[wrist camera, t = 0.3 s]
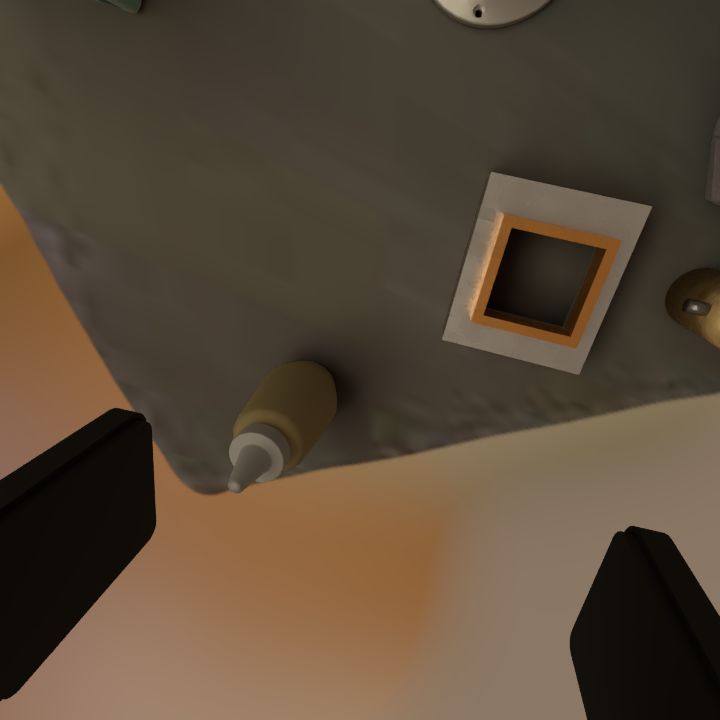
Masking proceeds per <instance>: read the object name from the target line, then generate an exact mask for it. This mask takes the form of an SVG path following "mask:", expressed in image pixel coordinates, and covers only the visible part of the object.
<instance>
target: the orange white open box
mask: <svg viewBox="0 0 720 720" xmlns="http://www.w3.org/2000/svg"><path fill="white" fill-rule="evenodd" d="M651 208H652V206H648V205H643V204H638V203H634V202H629V201H624V200H620V199H615V198H610V197H606V196H601V195H597V194H592V193H587V192H583V191H578V190H573V189H569V188H564V187H559V186H555V185H550V184H545V183H541V182H536V181H532V180H527V179H522V178H518V177H513V176H508V175H504V174H499V173H494V172H489V173H488V174H487V177H486V181H485V184H484V188H483V191H482V195H481V198H480V201H479V205H478V208H477V212H476V215H475V219H474V222H473V226H472V229H471V232H470V236H469V239H468V243H467V246H466V250H465V253H464V257H463V260H462V263H461V267H460V270H459V274H458V277H457V281H456V284H455V288H454V291H453V294H452V298H451V301H450V305H449V308H448V312H447V315H446V319H445V322H444V325H443V334H442V340H446V341H450V342H454V343H457V344H461V345H465V346H469V347H473V348H477V349H481V350H485V351H489V352H493V353H496V354H500V355H504V356H508V357H512V358H516V359H520V360H524V361H528V362H532V363H535V364H539V365H543V366H547V367H551V368H555V369H559V370H563V371H567V372H570V373H574V374H578V375H579V374H580V371H581V369H582V367H583V364H584V362H585V360H586V357H587V355H588V353H589V351H590V348H591V346H592V344H593V341H594V339H595V337H596V334H597V332H598V330H599V328H600V325H601V323H602V321H603V318H604V316H605V314H606V312H607V309H608V307H609V305H610V302H611V300H612V298H613V295H614V293H615V291H616V289H617V286H618V284H619V282H620V279H621V277H622V275H623V272H624V270H625V268H626V266H627V263H628V261H629V259H630V256H631V254H632V252H633V250H634V247H635V245H636V243H637V240H638V238H639V236H640V233H641V231H642V229H643V227H644V224H645V222H646V220H647V217H648V215H649V213H650V210H651ZM511 228H515V229H519V230H524V231H528V232H533V233H537V234H541V235H546V236H550V237H555V238H559V239H563V240H568V241H572V242H577V243H581V244H585V245H590V246H594V248H593V251H592V253H591V256H590V258H589V261H588V263H587V266H586V268H585V271H584V273H583V276H582V278H581V281H580V283H579V286H578V288H577V291H576V293H575V296H574V298H573V301H572V303H571V306H570V308H569V311H568V313H567V316H566V318H565V321H564V323H563V326H559V325H555V324H551V323H547V322H543V321H539V320H535V319H531V318H527V317H523V316H519V315H515V314H510V313H506V312H502V311H498V310H494V309H490V308H486V306H487V302H488V299H489V296H490V293H491V290H492V287H493V284H494V281H495V278H496V275H497V272H498V269H499V265H500V262H501V259H502V256H503V253H504V250H505V247H506V244H507V241H508V238H509V235H510V231H511Z"/></svg>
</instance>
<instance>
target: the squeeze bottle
mask: <svg viewBox="0 0 720 720" xmlns="http://www.w3.org/2000/svg"><path fill="white" fill-rule="evenodd" d="M336 412H337V394H336V388H335V383H334V381H333V378H332V375H331V374H330V373H329V372H328V371H327V369H326V368H325V367H324V366H322V365H320V364H318V363H316V362H314V361H305V360H302V361H295V362H290V363H286V364H283V365H279V366H276V367H275V368H274V369H273V370H272V371H271V372H269V373H268V374H267V375H266V377H265V378H264V379H263V381H262V382H261V384H260V385H259V387H258V388H257V390H256V391H255V393H254V394H253V396H252V397H251V399H250V400H249V402H248V403H247V405H246V406H245V407H244V409H243V410H242V412H241V413H240V415H239V416H238V418H237V420H236V423H235V425H234V428H233V440H232V443H231V445H230V448H229V454H230V460H231V462H232V464H233V466H234V469H233V472H232V474H231V477H230V480H229V482H228V488H229V489H230V490H231V491H232V492H234V493H240V492H242V491H243V490H244V489H245V488H247V487H248V486H249V485H250V484H251V483H253V482H254V481H257V482H267V481H272V480H274V479H275V478H277V477H278V476H279V475H280V474H281V473H282V472H287V471H290V470H291V469H293V468H294V467H296V466H297V465H298V464H299V463H300V462H301V461H302V460H303V458H304V457H305V456H306V454H307V453H308V452H309V451H310V449H311V448H312V447H313V446H314V444H315V443H316V442H317V440H318V439H319V438H320V437H321V435H322V434H323V433H324V431H325V430H326V429H327V428H328V426H329V425H330V424H331V422H332V420H333V418H334V416H335V414H336Z"/></svg>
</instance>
